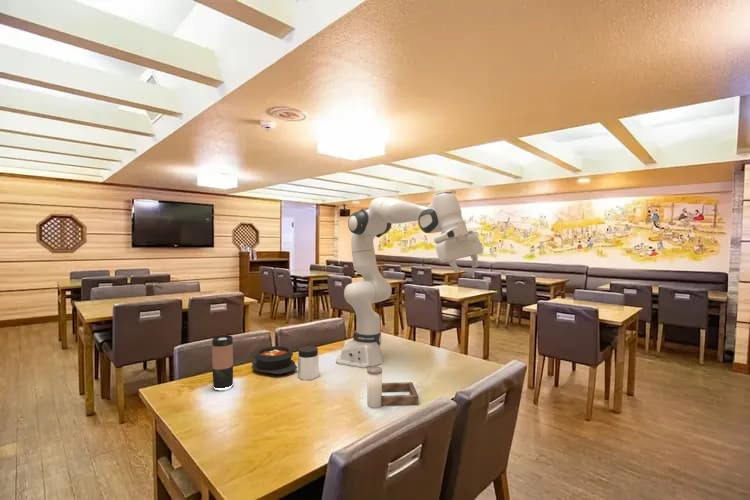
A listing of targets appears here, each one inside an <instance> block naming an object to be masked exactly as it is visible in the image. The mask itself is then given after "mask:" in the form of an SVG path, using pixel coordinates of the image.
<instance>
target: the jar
mask: <svg viewBox="0 0 750 500" xmlns="http://www.w3.org/2000/svg"><path fill="white" fill-rule="evenodd" d="M319 359H320V358H319V349H318V347H317V346H314V345H313V346H312V345H311V346H310V345H309V346H308V345H307V346H302V347H300V348H298V354H297V377H298V378H299V379H300V380H301V379H304V380H303V381H312V380H315V379H317V378H319V376H320V374H319V369H320V365H319Z"/></svg>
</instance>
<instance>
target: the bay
mask: <svg viewBox="0 0 750 500" xmlns="http://www.w3.org/2000/svg"><path fill="white" fill-rule="evenodd" d="M398 392H399V393H401V392H408V393H409V394H402V395H401V394H399V395H398V394H396V395H390V394H389V395H382V406H381V407H385V406H386V407H389V406H390V407H391V406H415V405H416V406H418V405H419V400H420V399H419V394H418V393H417V390H416V388H415V386H414V382H411V381H409V382H407V381H405V382H404V381H403V382H401V381H400V382H382V393H398Z"/></svg>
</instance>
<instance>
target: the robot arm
mask: <svg viewBox="0 0 750 500" xmlns="http://www.w3.org/2000/svg"><path fill="white" fill-rule="evenodd" d="M410 222H417V223H418V226H419V229H420V230H421V231H422V232H423V233H425V234H433V233H435V234H436V233H439V234H437V236H435V237H434V238H433V242H434V243H435V244H436V245H435V250H436V253H437V257H438V260H439V262H440V263H447V262H448V264H449V266H450V267H451V268H452V269H453V272H454V273H455V274H457V273H460V272H461V267H460V266H458V265H457V264H456V263H457V261H456V260H460V259H464V258H468V257H470V258H471V261H472V262H471V263H470V265H471V268H472V269H474V268H479V264H478V260H479V256H478V255H479V254H483V251H484V248H483V246H482V242H481V240H480V238H479V237H478V235H477V233H476V232H475V231H473V230H468V227H467V225H466V222H465V220H464V218H463V215H462V209H461V206H460V202H459V201H458V198H457V196H456V195H455V194H454V192H452V191H444V192H439V193H436V194H435V195H433V196H432V200H431V202H430V203H429V204H428V206H426V205H420V204H417V203H413V202H409V201H405V200H403V199H402V200H401V199H398V198H395V197H388V196H379V197H375V198H373V199H372V200H371V202H370V204H369V206H368V208H367V209H366V210H365V209H364V208H362V209H359V210H358V211H356V212H353V213H352V214H350V216H349V217H348V221H347V226H348V230H349V231H350V232H351V233H352V234H351V239H350V240H351V242H350V244H351V245H350V246H351V257H352V263H353V264H352V265H353V269H354V271H355V272H356V273H359V274H360V276H361V277H362V279H363V280H359V281H355V282H352V283H351V282H350V283H349V284H347V285H346V286H345V288H344V290H343V291H344V292H343V295H344V297H343V298H344V300H345V301H346V303H347V304H348V305H350V306H351V307H352V308H353V311H354V313H355V318H356V330H355V331H354V332H353V333H352V334H351V335H352V336H351V337H352V338H353V339H352V340H350V341H349V342H347V343H346V344H345V345H344V346H343V347H342V350H341V353H340V355H338V356H337V357H336V361H335V362H336V364H338V365H346V366H350V367H351V366H352V367H356V368H365V369H366V368H368V367H371V366H379V365H381V364H383V362H384V358H383V355H382V347H381V346H382V345H381V344H382V332H381V317H380V314H379V313H377V312H376V311H375V310H373V306H372V305H373V304H375V303H381V302H383V301H386V300H388V299H389V298H390V297H391V296H392V292H393V291H392V289H393V288H392V286H391V284H390V282H389V281H387V280H386V279H385V277H383V275H382V274H381V272H380V269H379V268H378V264H377V259H376V258H377V257H376V251H375V246H374V239H375V238H381V237H382V236H383V235H385V234H387V233H388V232H389V231H391V230H390V229H391V228H392V224H395V225H396V224H404V223H410Z"/></svg>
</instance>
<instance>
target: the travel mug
mask: <svg viewBox="0 0 750 500" xmlns="http://www.w3.org/2000/svg"><path fill="white" fill-rule="evenodd" d="M233 338H234V337H233V336H232V335H227V334H226V335H216V336H215V337H212V339H211V342H212V343H211V344H212V345H211V348H212V349H211V351H212V352H211V353H212V358H211V359H212V360H211V363H212V365H211V366H212V387H213V386H214V387H215V388H225V387H229V386H231V385H232V384H233V385H234V348H233V347H234V343H233Z"/></svg>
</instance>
